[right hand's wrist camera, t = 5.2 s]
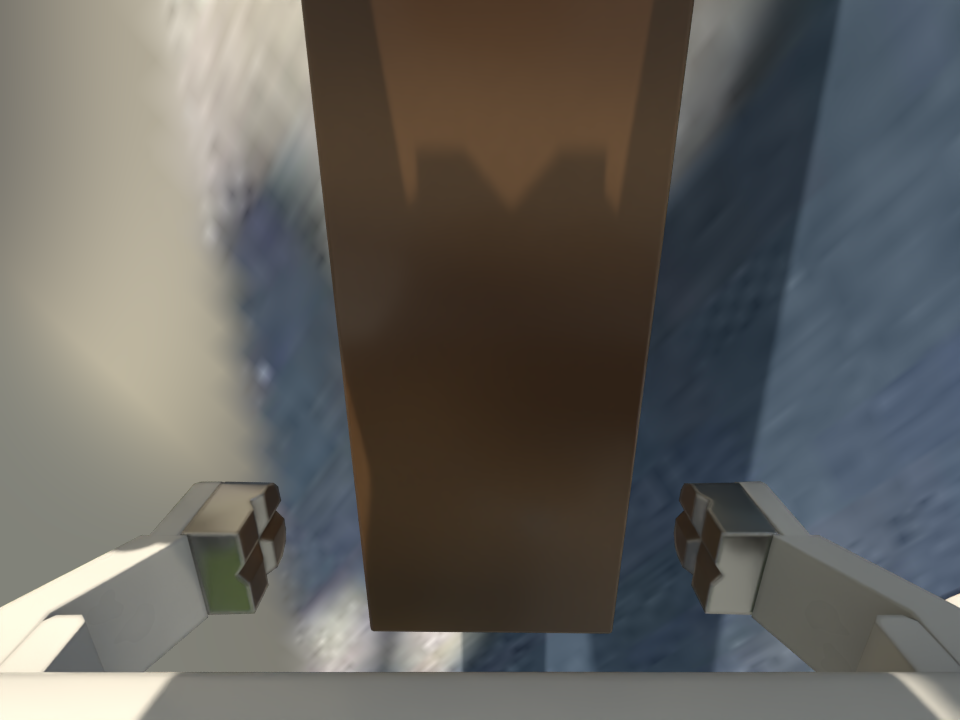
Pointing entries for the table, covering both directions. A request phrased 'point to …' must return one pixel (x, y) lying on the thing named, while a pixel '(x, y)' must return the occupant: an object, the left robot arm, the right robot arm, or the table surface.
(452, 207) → the box
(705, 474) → the table surface
